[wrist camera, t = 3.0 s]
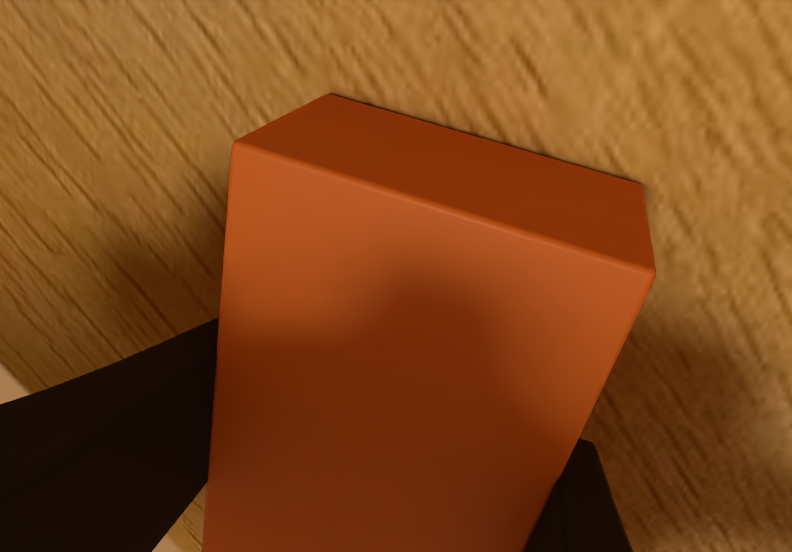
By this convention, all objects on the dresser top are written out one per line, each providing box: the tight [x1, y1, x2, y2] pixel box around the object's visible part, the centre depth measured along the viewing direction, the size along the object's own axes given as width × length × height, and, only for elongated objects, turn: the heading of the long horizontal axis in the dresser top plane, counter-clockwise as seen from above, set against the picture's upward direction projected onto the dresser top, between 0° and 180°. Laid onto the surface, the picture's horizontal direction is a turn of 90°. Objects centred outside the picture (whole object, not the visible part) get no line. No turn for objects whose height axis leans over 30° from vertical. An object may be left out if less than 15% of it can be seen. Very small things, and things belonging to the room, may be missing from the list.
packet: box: [202, 94, 656, 552], centre depth 11 cm, size 5×9×3 cm, turn 168°
